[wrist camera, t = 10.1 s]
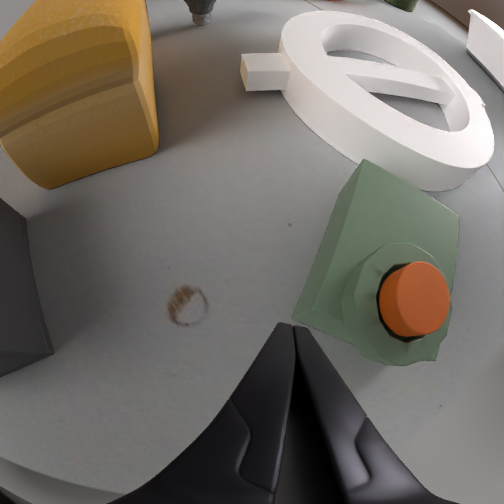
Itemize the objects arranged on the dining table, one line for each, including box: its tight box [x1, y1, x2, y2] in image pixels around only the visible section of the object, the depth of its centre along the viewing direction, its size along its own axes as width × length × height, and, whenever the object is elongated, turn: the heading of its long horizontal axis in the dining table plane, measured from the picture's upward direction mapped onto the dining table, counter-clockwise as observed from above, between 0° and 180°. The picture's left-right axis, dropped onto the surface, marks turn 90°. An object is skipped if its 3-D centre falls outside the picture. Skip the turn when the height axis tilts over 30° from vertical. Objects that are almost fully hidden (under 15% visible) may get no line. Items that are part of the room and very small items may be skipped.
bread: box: [0, 0, 159, 189], centre depth 18 cm, size 24×13×15 cm, turn 16°
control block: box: [292, 159, 460, 366], centre depth 17 cm, size 12×9×7 cm
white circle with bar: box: [240, 11, 494, 192], centre depth 26 cm, size 28×28×5 cm
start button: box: [379, 261, 450, 337], centre depth 13 cm, size 4×4×2 cm
